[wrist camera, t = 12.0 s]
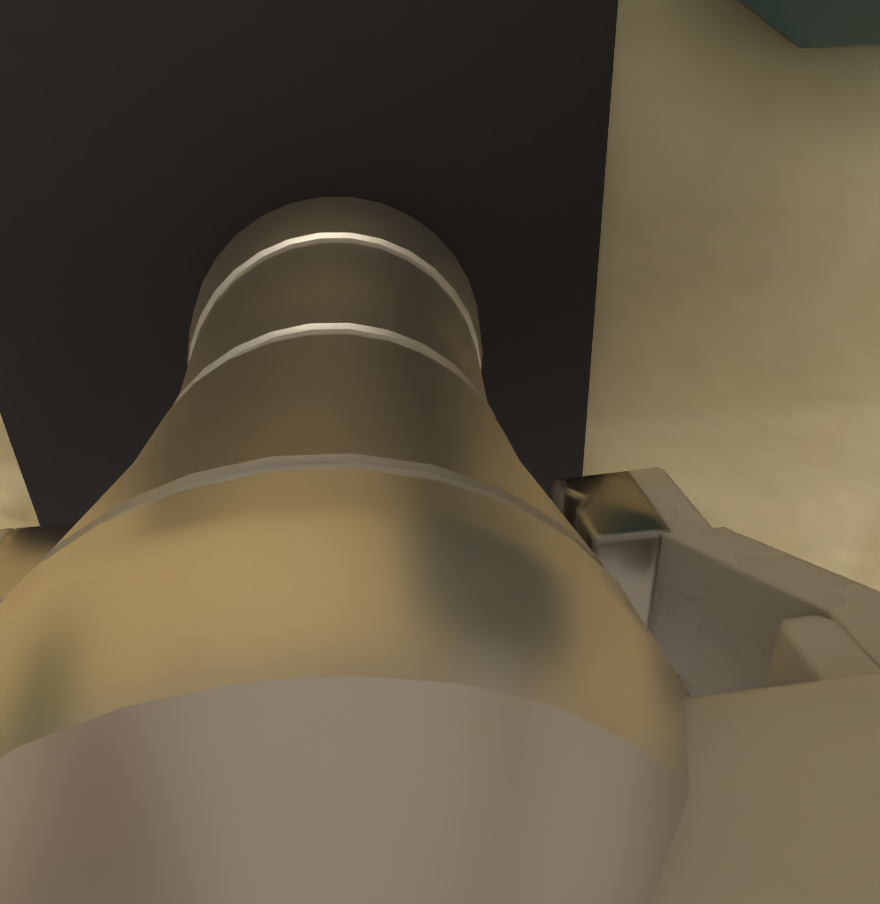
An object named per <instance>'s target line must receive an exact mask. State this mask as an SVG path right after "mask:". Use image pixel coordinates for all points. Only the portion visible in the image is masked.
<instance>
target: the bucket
mask: <svg viewBox="0 0 880 904" xmlns="http://www.w3.org/2000/svg"><path fill="white" fill-rule="evenodd" d="M739 1H740V2H742V3H743V4H744V5H745V6H747V7H748V8H749V9H751V10H752V11H753V12H755V13H756V14H757V15H758V16H760V17H761V18H762V19H764V20H765V21H766V22H768V23H769V24H770V25H771V26H773V27H774V28H775V29H777V30H778V31H779V32H781V33H782V34H783V35H784V36H786V37H787V38H788V39H790V40H791V41H792V42H794V43H795V44H796V45H797V46H799V47H800V48H821V47H851V46H880V0H739Z"/></svg>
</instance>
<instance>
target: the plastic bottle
mask: <svg viewBox="0 0 880 904" xmlns="http://www.w3.org/2000/svg"><path fill="white" fill-rule="evenodd" d="M482 355H483V352H482V343H481V334H480V326H479V317H478V309H477V304H476V301H475V298H474V295H473V292H472V289H471V286H470V283H469V280H468V278H467V276H466V274H465V273H464V271H463V269H462V268H461V266H460V264H459V262H458V261H457V259H456V257H455V256H454V254H453V253H452V252H451V251H450V250H449V249H448V248H447V246H446V245H445V244H444V243H443V242H442V241H441V240H440V239H439V238H438V237H437V235H436V234H435V233H434V232H432V231H431V230H429V229H428V228H427V227H425V226H424V225H423V224H421V223H420V222H418V221H417V220H416V219H414V218H413V217H411V216H410V215H408V214H405V213H403V212H401V211H399V210H396V209H394V208H392V207H390V206H387V205H385V204H383V203H379V202H374V201H369V200H365V199H360V198H355V197H318V198H313V199H308V200H303V201H299V202H294V203H290V204H288V205H285V206H283V207H281V208H279V209H276V210H274V211H272V212H270V213H267V214H265V215H263V216H261V217H260V218H258V219H257V220H256V221H254V222H253V223H251V224H250V225H249V226H247V227H246V228H245V229H243V230H242V231H241V232H239V233H238V234H237V235H236V236H235V237H234V238H233V239H232V240H231V241H230V243H229V244H228V245H227V246H226V247H225V248H224V249H223V250H222V251H221V253H220V254H219V255H218V256H217V257H216V259H215V261H214V263H213V265H212V266H211V268H210V270H209V272H208V273H207V275H206V277H205V279H204V280H203V282H202V285H201V289H200V292H199V295H198V298H197V302H196V305H195V308H194V312H193V317H192V322H191V327H190V333H189V345H188V356H187V366H188V368H187V371H186V375H185V378H184V381H183V385H182V388H181V391H180V394H179V396H178V397H177V399H176V401H175V402H174V404H173V406H172V407H171V409H170V410H169V411H168V412H167V414H166V415H165V417H164V418H163V420H162V421H161V423H160V424H159V426H158V427H157V429H156V430H155V432H154V433H153V435H152V436H151V438H150V439H149V441H148V442H147V444H146V445H145V447H144V448H143V450H142V451H141V453H140V454H139V456H138V457H137V459H136V460H135V462H134V463H133V464H132V465H131V466H130V467H129V468H128V469H127V470H126V471H125V472H124V473H123V475H122V476H121V477H120V478H119V479H118V480H117V481H116V482H115V483H114V484H113V485H112V486H111V487H110V488H109V489H108V490H107V492H106V493H105V494H104V495H103V496H102V497H101V498H100V499H99V500H98V501H97V502H96V503H95V504H94V505H93V506H92V507H91V508H90V510H89V511H88V512H87V513H86V514H85V515H84V516H83V517H82V518H81V519H80V520H79V521H78V522H77V523H76V524H75V525H74V527H73V528H72V529H71V530H70V531H69V532H68V533H67V534H66V535H65V536H64V537H63V538H62V539H61V540H60V541H59V542H58V543H57V545H56V546H55V547H54V548H53V549H52V550H51V551H50V552H49V553H48V554H47V555H46V556H45V557H44V558H43V559H42V560H41V562H40V563H39V564H38V565H37V566H35V567H34V568H33V569H32V570H31V571H30V572H29V573H28V574H27V575H26V576H25V577H24V578H23V579H22V581H21V582H20V583H19V584H18V585H17V586H16V587H15V588H14V589H13V590H12V591H11V592H10V593H9V594H8V595H7V596H6V597H5V598H4V599H3V601H2V602H1V603H0V904H650V903H651V900H652V897H653V895H654V892H655V889H656V886H657V884H658V881H659V878H660V875H661V873H662V870H663V867H664V864H665V861H666V859H667V856H668V853H669V850H670V848H671V845H672V842H673V839H674V837H675V834H676V831H677V828H678V825H679V823H680V820H681V817H682V814H683V812H684V809H685V806H686V803H687V799H688V795H689V791H690V782H689V773H688V765H687V738H686V701H687V699H688V698H689V697H691V696H690V694H689V693H688V691H687V690H686V688H685V686H684V684H683V683H682V681H681V680H680V678H679V676H678V675H677V673H676V671H675V670H674V668H673V666H672V665H671V663H670V661H669V660H668V658H667V657H666V655H665V654H664V652H663V651H662V649H661V648H660V646H659V645H658V643H657V642H656V640H655V639H654V637H653V636H652V634H651V633H650V631H649V630H648V628H647V627H646V625H645V624H644V622H643V621H642V619H641V618H640V616H639V614H638V613H637V611H636V609H635V608H634V606H633V605H632V603H631V601H630V600H629V598H628V597H627V595H626V593H625V592H624V590H623V589H622V587H621V585H620V584H619V583H618V582H617V581H616V580H615V579H614V578H613V577H612V576H611V575H610V574H609V573H608V572H607V571H606V569H605V568H604V566H603V564H602V563H601V561H600V560H599V559H598V558H597V556H596V555H595V554H594V553H593V551H592V550H591V549H590V548H589V546H588V545H587V544H586V543H585V541H584V540H583V539H582V538H581V536H580V535H579V534H578V533H577V531H576V530H575V529H574V528H573V526H572V525H571V524H570V523H569V522H568V520H567V519H566V518H565V517H564V515H563V514H562V513H561V512H560V510H559V509H558V508H557V507H556V505H555V504H554V503H553V502H552V500H551V499H550V498H549V497H548V495H547V494H546V493H545V492H544V490H543V489H542V488H541V487H540V485H539V484H538V483H537V482H536V480H535V479H534V478H533V477H532V475H531V474H530V473H529V472H528V470H527V469H526V468H525V467H524V465H523V464H522V463H521V462H520V460H519V459H518V457H517V455H516V453H515V451H514V449H513V448H512V446H511V444H510V442H509V440H508V438H507V437H506V435H505V433H504V431H503V429H502V428H501V426H500V425H499V423H498V422H497V420H496V417H495V415H494V413H493V411H492V409H491V408H490V406H489V404H488V402H487V398H486V393H485V388H484V384H483V379H482V374H481V366H482Z"/></svg>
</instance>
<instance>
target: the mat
mask: <svg viewBox="0 0 880 904" xmlns="http://www.w3.org/2000/svg"><path fill="white" fill-rule="evenodd" d="M617 6H618V0H0V414H1V416H2V419H3V422H4V425H5V428H6V430H7V433H8V436H9V439H10V442H11V444H12V447H13V450H14V453H15V456H16V458H17V461H18V464H19V467H20V470H21V473H22V475H23V478H24V481H25V484H26V487H27V489H28V492H29V495H30V498H31V501H32V503H33V506H34V509H35V512H36V515H37V518H38V520H39V523H40V526H52V525H65V524H76V523H77V522H78V521H79V520H80V519H81V518H82V517H83V516H84V515H85V514H86V513H87V512H88V511H89V510H90V508H91V507H92V506H93V505H94V504H95V503H96V502H97V501H98V500H99V499H100V498H101V497H102V496H103V495H104V494H105V493H106V492H107V490H108V489H109V488H110V487H111V486H112V485H113V484H114V483H115V482H116V481H117V480H118V479H119V478H120V477H121V476H122V475H123V473H124V472H125V471H126V470H127V469H128V468H129V467H130V466H131V465H132V464H133V463H134V462H135V460H136V459H137V457H138V456H139V454H140V453H141V451H142V450H143V448H144V447H145V445H146V444H147V442H148V441H149V439H150V438H151V436H152V435H153V433H154V432H155V430H156V429H157V427H158V426H159V424H160V423H161V421H162V420H163V418H164V417H165V415H166V414H167V412H168V411H169V410H170V409H171V407H172V406H173V404H174V402H175V401H176V399H177V397H178V396H179V394H180V391H181V388H182V385H183V381H184V378H185V375H186V371H187V368H188V366H187V356H188V345H189V333H190V327H191V322H192V317H193V312H194V308H195V305H196V302H197V298H198V295H199V292H200V289H201V285H202V282H203V280H204V279H205V277H206V275H207V273H208V272H209V270H210V268H211V266H212V265H213V263H214V261H215V259H216V257H217V256H218V255H219V254H220V253H221V251H222V250H223V249H224V248H225V247H226V246H227V245H228V244H229V243H230V241H231V240H232V239H233V238H234V237H235V236H236V235H237V234H238V233H239V232H241V231H242V230H243V229H245V228H246V227H247V226H249V225H250V224H251V223H253V222H254V221H256V220H257V219H258V218H260V217H261V216H263V215H265V214H267V213H270V212H272V211H274V210H276V209H279V208H281V207H283V206H285V205H288V204H290V203H294V202H299V201H303V200H308V199H313V198H318V197H355V198H360V199H365V200H369V201H374V202H379V203H383V204H385V205H387V206H390V207H392V208H394V209H396V210H399V211H401V212H403V213H405V214H408V215H410V216H411V217H413V218H414V219H416V220H417V221H418V222H420V223H421V224H423V225H424V226H425V227H427V228H428V229H429V230H431V231H432V232H434V233H435V234H436V235H437V237H438V238H439V239H440V240H441V241H442V242H443V243H444V244H445V245H446V246H447V248H448V249H449V250H450V251H451V252H452V253H453V254H454V256H455V257H456V259H457V261H458V262H459V264H460V266H461V268H462V269H463V271H464V273H465V274H466V276H467V278H468V280H469V283H470V286H471V289H472V292H473V295H474V298H475V301H476V304H477V309H478V317H479V326H480V334H481V343H482V352H483V355H482V366H481V374H482V379H483V384H484V388H485V393H486V398H487V402H488V404H489V406H490V408H491V409H492V411H493V413H494V415H495V417H496V420H497V422H498V423H499V425H500V426H501V428H502V429H503V431H504V433H505V435H506V437H507V438H508V440H509V442H510V444H511V446H512V448H513V449H514V451H515V453H516V455H517V457H518V459H519V460H520V462H521V463H522V464H523V465H524V467H525V468H526V469H527V470H528V472H529V473H530V474H531V475H532V477H533V478H534V479H535V480H536V482H537V483H538V484H539V485H540V487H541V488H542V489H543V490H544V492H545V493H546V494H547V495H548V497H549V498H550V495H551V488H552V484H553V480H558V479H566V478H574V477H582V471H583V458H584V444H585V431H586V418H587V405H588V391H589V378H590V365H591V351H592V338H593V325H594V312H595V298H596V285H597V272H598V258H599V245H600V232H601V219H602V205H603V192H604V179H605V165H606V152H607V139H608V126H609V112H610V99H611V86H612V72H613V59H614V46H615V33H616V19H617Z"/></svg>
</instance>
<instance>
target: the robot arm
mask: <svg viewBox="0 0 880 904" xmlns="http://www.w3.org/2000/svg"><path fill="white" fill-rule="evenodd" d="M550 499H551V500H552V502H553V503H554V504H555V505H556V507H557V508H558V509H559V510H560V512H561V513H562V514H563V515H564V517H565V518H566V519H567V520H568V522H569V523H570V524H571V525H572V526H573V528H574V529H575V530H576V531H577V533H578V534H579V535H580V536H581V538H582V539H583V540H584V541H585V543H586V544H587V545H588V546H589V548H590V549H591V550H592V551H593V553H594V554H595V555H596V556H597V558H598V559H599V560H600V561H601V563H602V564H603V566H604V568H605V569H606V571H607V572H608V573H609V574H610V575H611V576H612V577H613V578H614V579H615V580H616V581H617V582H618V583H619V584H620V585H621V587H622V589H623V590H624V592H625V593H626V595H627V597H628V598H629V600H630V601H631V603H632V605H633V606H634V608H635V609H636V611H637V613H638V614H639V616H640V618H641V619H642V621H643V622H644V624H645V625H646V627H647V628H648V630H649V631H650V633H651V634H652V636H653V637H654V639H655V640H656V642H657V643H658V645H659V646H660V648H661V649H662V651H663V652H664V654H665V655H666V657H667V658H668V660H669V661H670V663H671V665H672V666H673V668H674V670H675V671H676V673H677V675H678V676H679V677H680V678H682V679H683V680H684V681H686V682H687V683H688V684H690V685H691V686H693V687H694V688H695V689H696V690H697V691H699V692H700V693H701V694H703V695H702V696H694V697H689V698H688V699H687V701H686V738H687V765H688V773H689V782H690V791H689V795H688V799H687V803H686V806H685V809H684V812H683V814H682V817H681V820H680V823H679V825H678V828H677V831H676V834H675V837H674V839H673V842H672V845H671V848H670V850H669V853H668V856H667V859H666V861H665V864H664V867H663V870H662V873H661V875H660V878H659V881H658V884H657V886H656V889H655V892H654V895H653V897H652V900H651V903H650V904H880V592H879V591H877V590H874V589H872V588H870V587H867V586H865V585H862V584H860V583H857V582H855V581H853V580H850V579H848V578H845V577H843V576H841V575H838V574H836V573H833V572H831V571H828V570H826V569H824V568H821V567H819V566H816V565H814V564H812V563H809V562H807V561H804V560H802V559H799V558H797V557H795V556H792V555H790V554H787V553H785V552H783V551H780V550H778V549H775V548H773V547H770V546H768V545H766V544H763V543H761V542H758V541H756V540H754V539H751V538H749V537H746V536H744V535H741V534H739V533H737V532H734V531H732V530H729V529H727V528H725V527H721V528H712V526H711V525H710V524H709V523H708V522H707V520H706V519H705V518H704V517H703V516H702V515H701V513H700V512H699V511H698V510H697V509H696V507H695V506H694V505H693V504H692V503H691V501H690V500H689V499H688V498H687V497H686V496H685V494H684V493H683V492H682V491H681V490H680V488H679V487H678V486H677V485H676V484H675V483H674V481H673V480H672V479H671V478H670V477H669V475H668V474H667V473H666V472H665V471H664V470H663V469H660V468H658V467H654V468H647V469H640V470H632V471H625V472H616V473H608V474H599V475H591V476H583V477H574V478H566V479H558V480H553V484H552V488H551V495H550ZM74 525H75V524H65V525H52V526H39V527H26V528H16V529H12V528H7V529H0V603H1V602H2V601H3V599H4V598H5V597H6V596H7V595H8V594H9V593H10V592H11V591H12V590H13V589H14V588H15V587H16V586H17V585H18V584H19V583H20V582H21V581H22V579H23V578H24V577H25V576H26V575H27V574H28V573H29V572H30V571H31V570H32V569H33V568H34V567H35V566H37V565H38V564H39V563H40V562H41V560H42V559H43V558H44V557H45V556H46V555H47V554H48V553H49V552H50V551H51V550H52V549H53V548H54V547H55V546H56V545H57V543H58V542H59V541H60V540H61V539H62V538H63V537H64V536H65V535H66V534H67V533H68V532H69V531H70V530H71V529H72V528H73V527H74Z"/></svg>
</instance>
